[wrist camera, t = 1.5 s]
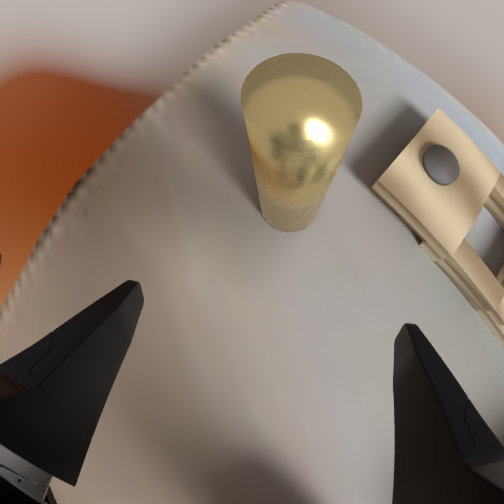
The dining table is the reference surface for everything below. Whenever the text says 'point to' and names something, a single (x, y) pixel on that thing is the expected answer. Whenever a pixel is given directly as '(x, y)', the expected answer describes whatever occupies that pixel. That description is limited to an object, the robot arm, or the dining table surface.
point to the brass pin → (297, 133)
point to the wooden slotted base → (449, 208)
